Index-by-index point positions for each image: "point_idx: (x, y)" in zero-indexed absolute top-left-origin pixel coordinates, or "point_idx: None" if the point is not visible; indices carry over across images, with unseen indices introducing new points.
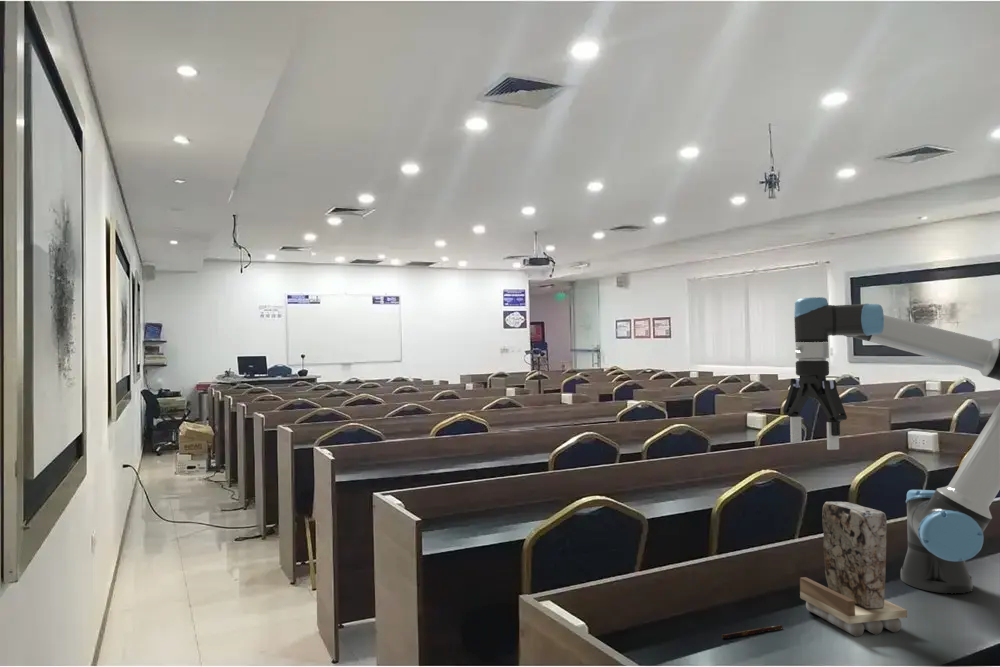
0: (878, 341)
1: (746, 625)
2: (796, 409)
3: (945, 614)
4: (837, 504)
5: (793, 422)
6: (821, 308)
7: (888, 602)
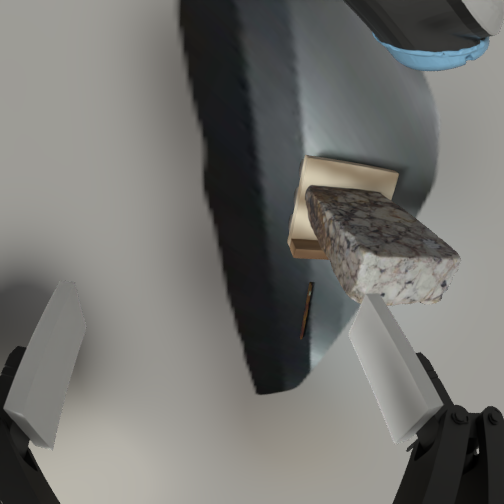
0: None
1: (287, 307)
2: (47, 493)
3: (373, 64)
4: (389, 299)
5: (56, 414)
6: None
7: (374, 171)
